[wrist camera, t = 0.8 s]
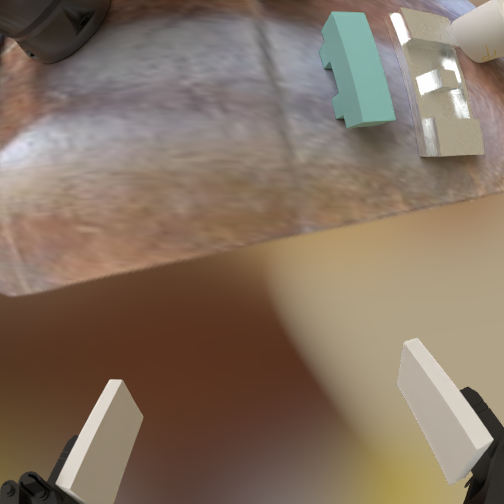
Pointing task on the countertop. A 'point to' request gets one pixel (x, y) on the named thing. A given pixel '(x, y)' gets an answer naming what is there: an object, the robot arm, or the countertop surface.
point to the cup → (482, 31)
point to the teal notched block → (356, 71)
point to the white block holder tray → (434, 84)
